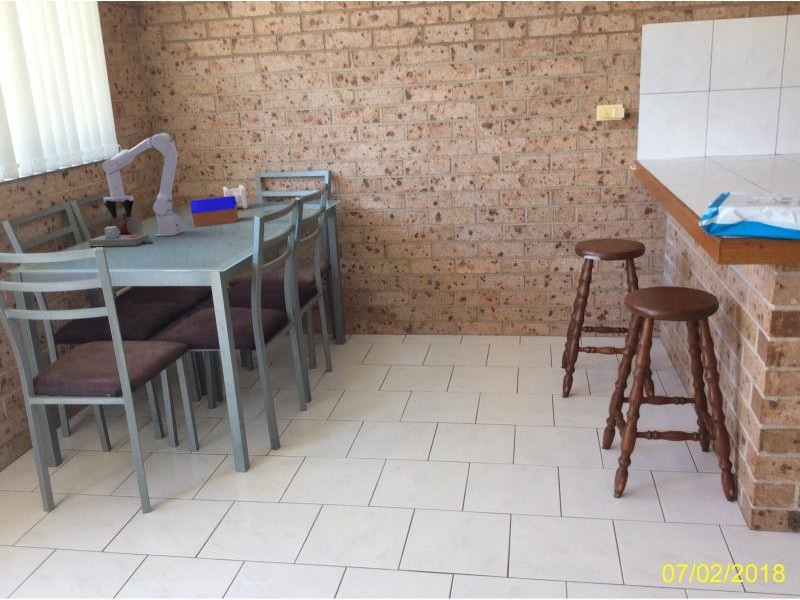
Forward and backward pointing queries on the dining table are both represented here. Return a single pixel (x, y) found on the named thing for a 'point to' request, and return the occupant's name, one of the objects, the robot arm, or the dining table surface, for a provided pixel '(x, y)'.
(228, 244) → the dining table surface
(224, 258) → the dining table surface
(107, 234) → the block
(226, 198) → the blue-topped brown box
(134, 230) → the mug
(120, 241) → the power strip
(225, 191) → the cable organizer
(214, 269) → the dining table surface
